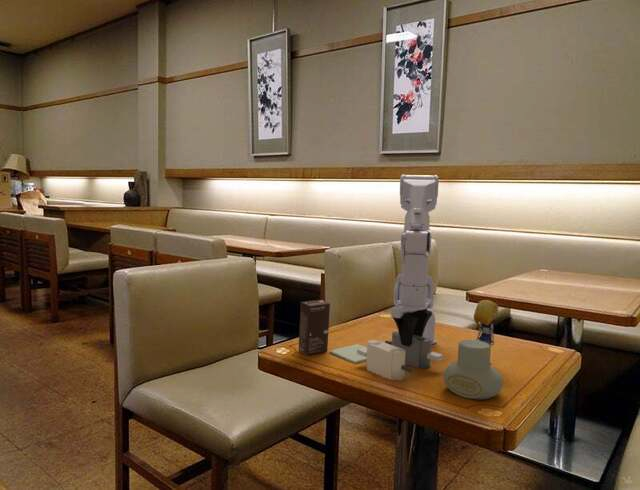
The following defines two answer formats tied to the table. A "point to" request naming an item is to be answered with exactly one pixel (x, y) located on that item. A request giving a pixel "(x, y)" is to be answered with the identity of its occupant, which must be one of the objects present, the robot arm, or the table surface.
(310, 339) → the box
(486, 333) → the figurine
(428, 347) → the charcoal plug
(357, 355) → the sage pad
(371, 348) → the white plug
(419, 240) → the robot arm
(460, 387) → the air freshener
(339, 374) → the table surface
